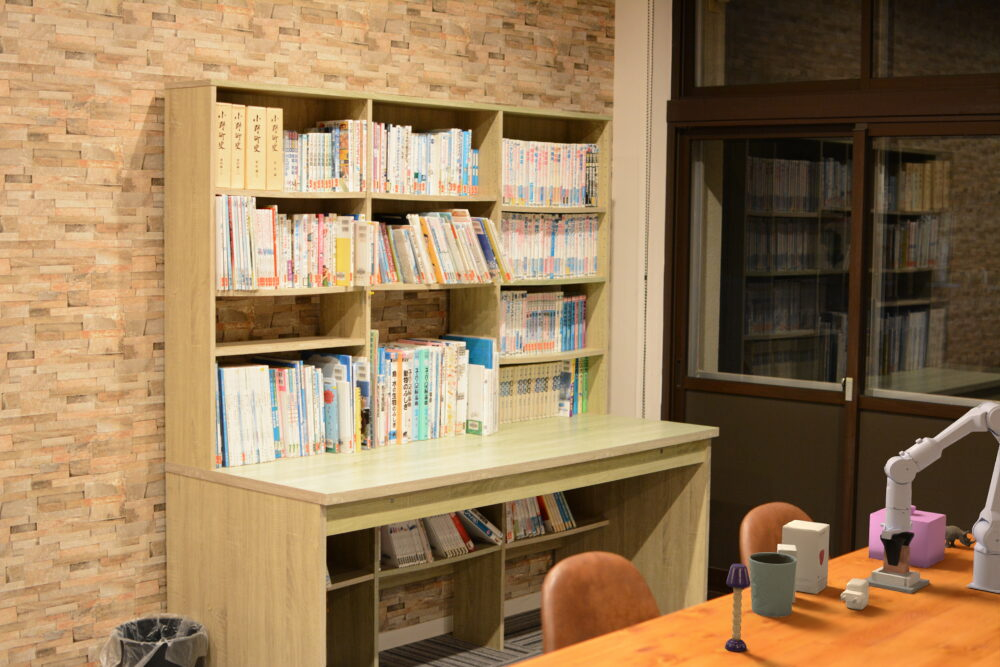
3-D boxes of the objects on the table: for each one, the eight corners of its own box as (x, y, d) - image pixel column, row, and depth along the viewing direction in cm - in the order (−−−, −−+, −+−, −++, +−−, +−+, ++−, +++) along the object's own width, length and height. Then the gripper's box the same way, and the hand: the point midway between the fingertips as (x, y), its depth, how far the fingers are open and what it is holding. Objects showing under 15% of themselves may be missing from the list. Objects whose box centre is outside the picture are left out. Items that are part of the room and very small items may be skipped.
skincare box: (795, 603, 265) (797, 551, 264) (775, 602, 266) (777, 549, 265) (794, 596, 271) (795, 544, 270) (775, 594, 272) (776, 543, 271)
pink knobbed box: (857, 563, 301) (859, 509, 300) (894, 545, 321) (896, 495, 320) (916, 574, 292) (918, 518, 291) (950, 555, 311) (953, 503, 310)
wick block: (888, 567, 285) (889, 543, 285) (909, 571, 282) (910, 546, 281) (883, 570, 282) (884, 545, 282) (903, 574, 279) (904, 549, 279)
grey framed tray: (880, 574, 291) (881, 562, 291) (929, 583, 283) (929, 571, 283) (861, 584, 282) (861, 572, 281) (911, 593, 274) (911, 581, 274)
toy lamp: (721, 644, 236) (724, 562, 235) (744, 643, 236) (747, 561, 235) (728, 652, 231) (730, 568, 230) (751, 651, 232) (754, 568, 230)
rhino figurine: (972, 553, 314) (973, 530, 314) (921, 543, 323) (922, 522, 323) (978, 550, 317) (979, 528, 317) (928, 541, 326) (928, 519, 326)
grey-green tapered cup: (798, 608, 261) (800, 555, 260) (789, 621, 252) (791, 566, 251) (753, 602, 265) (754, 549, 264) (742, 614, 256) (744, 560, 255)
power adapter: (858, 617, 255) (859, 591, 254) (835, 614, 257) (836, 587, 257) (871, 605, 264) (872, 579, 264) (849, 601, 267) (850, 576, 267)
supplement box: (817, 595, 272) (819, 531, 271) (779, 588, 277) (781, 525, 276) (828, 586, 279) (830, 523, 278) (791, 580, 284) (793, 518, 283)
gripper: (893, 500, 289) (891, 555, 290) (870, 509, 278) (867, 566, 279) (922, 504, 285) (919, 560, 286) (899, 514, 274) (897, 571, 275)
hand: (896, 563), depth 282 cm, fingers closed on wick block, 3 cm apart
